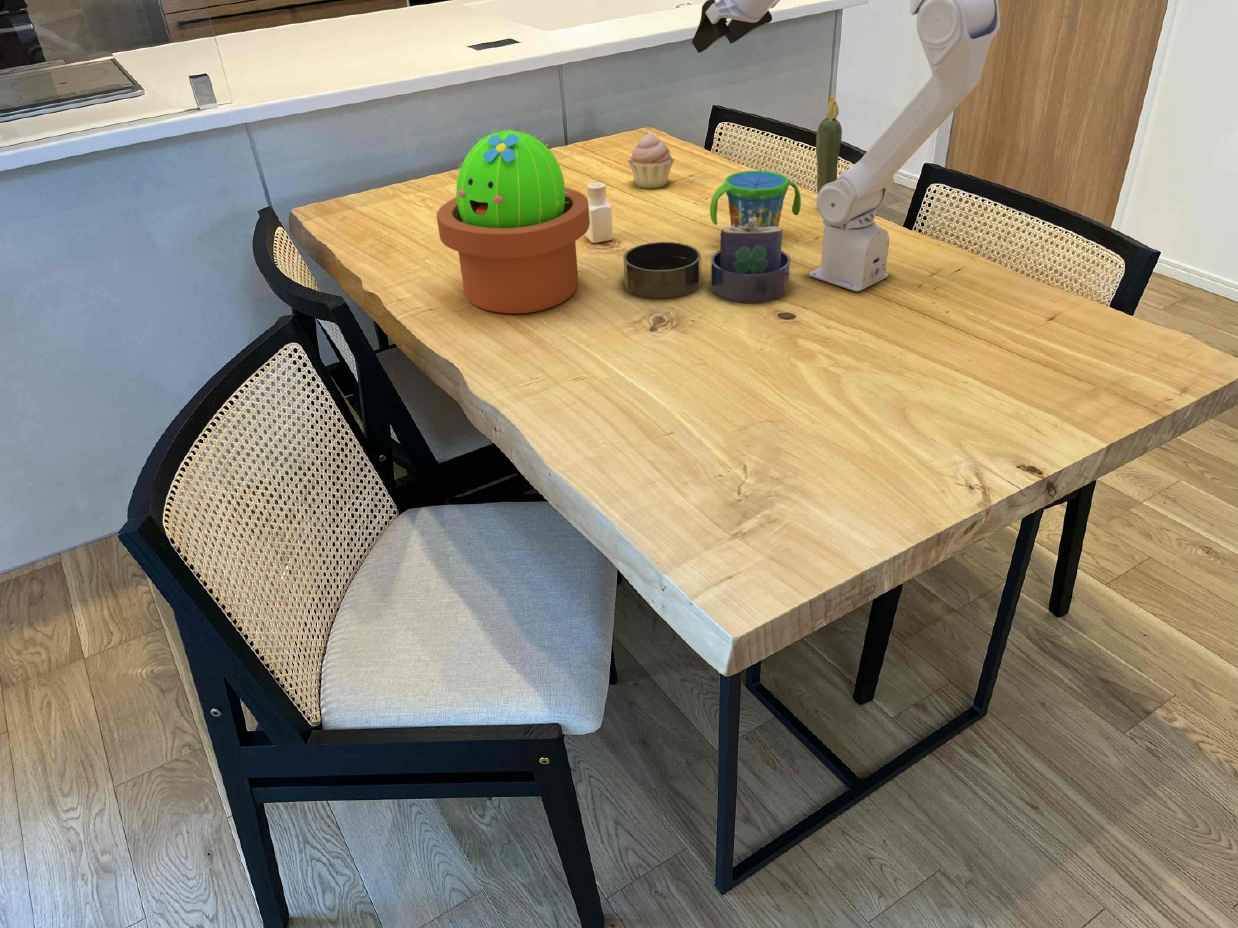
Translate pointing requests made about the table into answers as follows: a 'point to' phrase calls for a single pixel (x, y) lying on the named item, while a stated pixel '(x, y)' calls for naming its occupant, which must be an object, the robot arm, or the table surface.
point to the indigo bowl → (750, 282)
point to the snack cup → (755, 197)
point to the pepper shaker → (599, 214)
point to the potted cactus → (514, 225)
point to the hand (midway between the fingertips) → (712, 42)
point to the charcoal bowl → (662, 270)
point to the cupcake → (651, 162)
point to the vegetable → (828, 145)
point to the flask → (751, 248)
